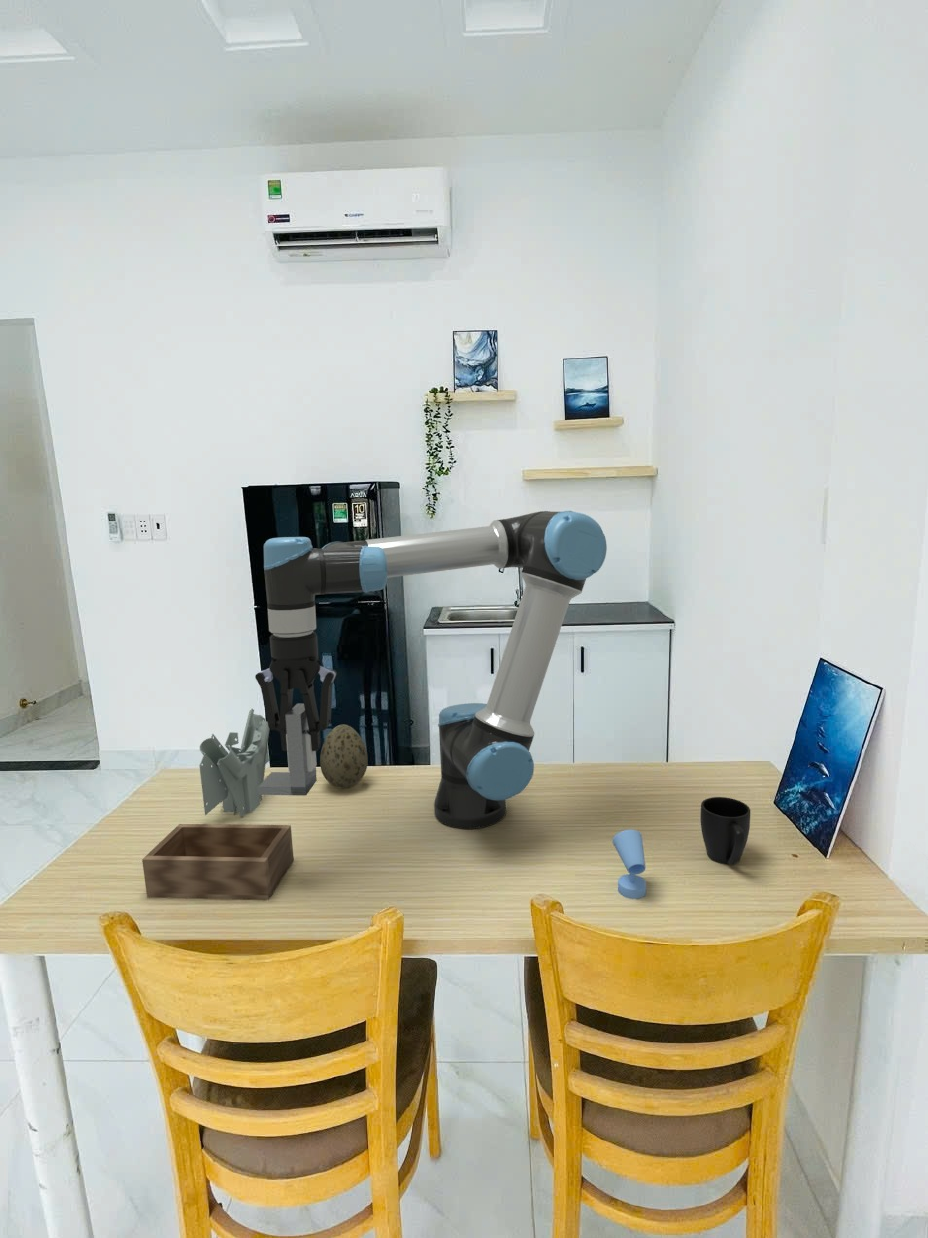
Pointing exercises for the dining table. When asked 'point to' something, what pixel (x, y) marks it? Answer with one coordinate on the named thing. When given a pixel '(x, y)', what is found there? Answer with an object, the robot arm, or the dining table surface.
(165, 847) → the open wooden box
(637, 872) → the spotlight
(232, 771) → the bracket
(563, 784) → the dining table surface
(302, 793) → the angle bracket
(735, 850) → the mug
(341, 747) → the decorative egg
